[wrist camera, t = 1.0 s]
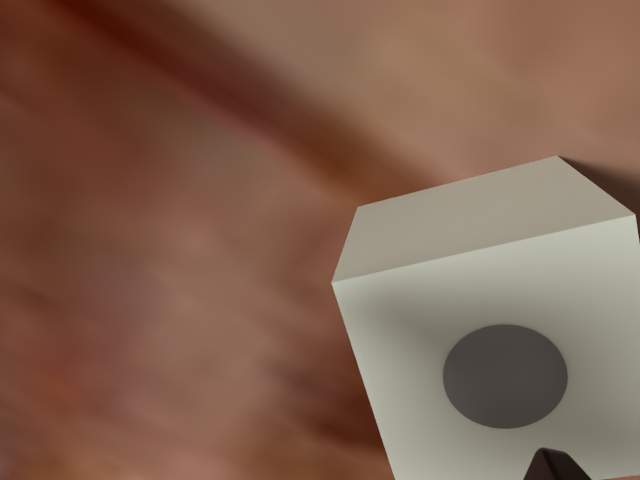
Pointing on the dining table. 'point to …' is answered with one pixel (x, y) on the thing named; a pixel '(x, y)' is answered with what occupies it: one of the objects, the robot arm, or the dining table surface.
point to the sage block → (498, 324)
